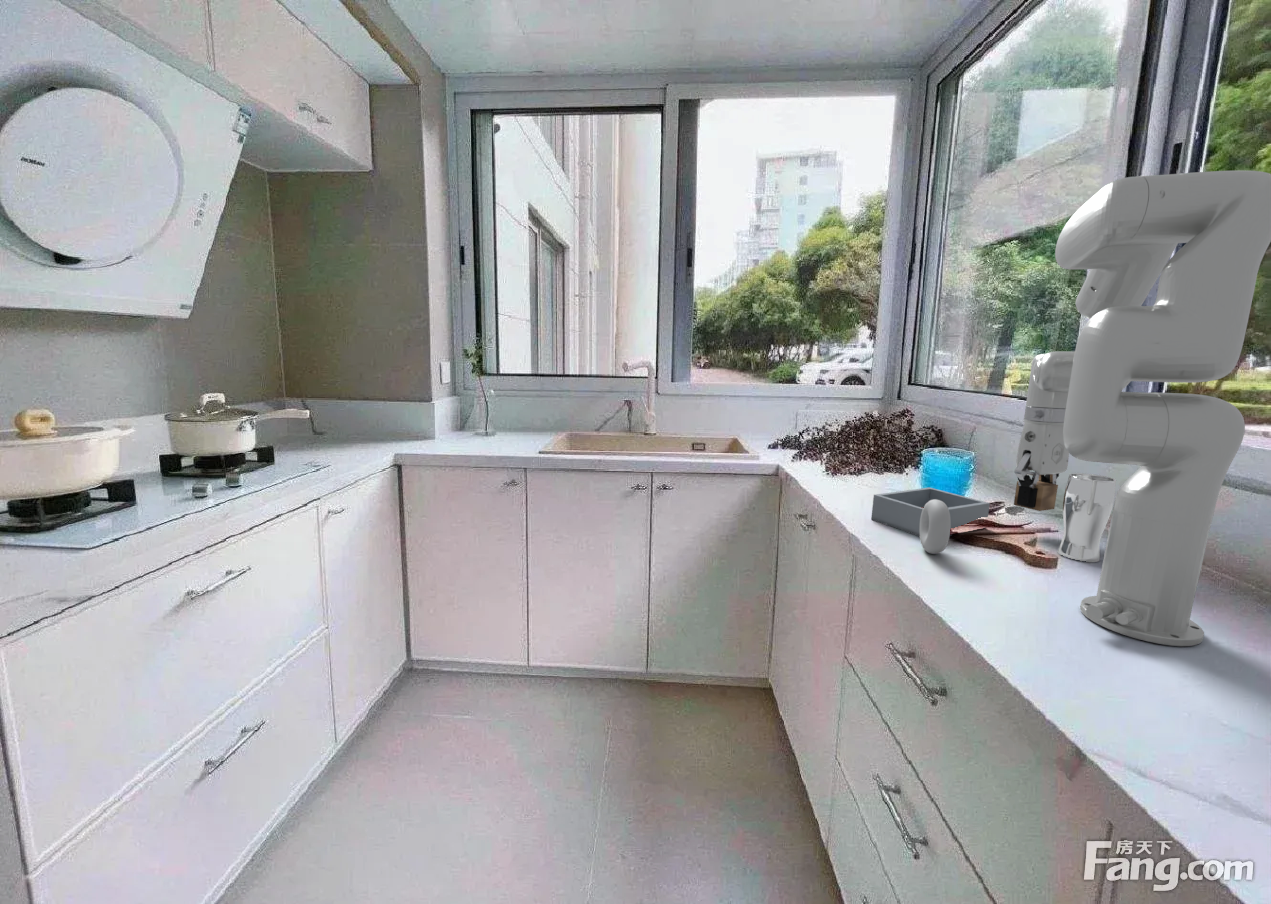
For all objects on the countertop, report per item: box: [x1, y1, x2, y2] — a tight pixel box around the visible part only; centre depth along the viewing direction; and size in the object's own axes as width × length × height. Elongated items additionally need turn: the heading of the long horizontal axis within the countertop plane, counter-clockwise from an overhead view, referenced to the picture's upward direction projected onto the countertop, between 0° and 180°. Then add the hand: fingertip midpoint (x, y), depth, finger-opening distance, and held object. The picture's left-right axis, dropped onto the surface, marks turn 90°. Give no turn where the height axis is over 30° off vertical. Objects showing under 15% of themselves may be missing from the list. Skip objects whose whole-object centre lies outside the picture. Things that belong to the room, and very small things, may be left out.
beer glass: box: [1057, 472, 1117, 563], centre depth 100 cm, size 7×7×15 cm
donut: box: [919, 499, 951, 555], centre depth 101 cm, size 10×4×10 cm, turn 165°
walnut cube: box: [1013, 480, 1059, 512], centre depth 112 cm, size 5×5×5 cm
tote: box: [870, 486, 991, 537], centre depth 118 cm, size 18×14×6 cm
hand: (1034, 504), depth 113 cm, fingers closed on walnut cube, 4 cm apart
